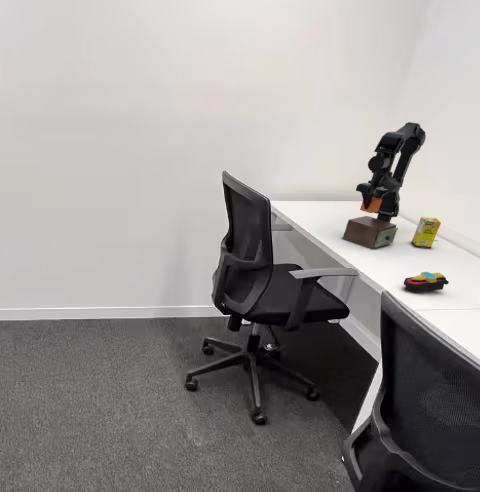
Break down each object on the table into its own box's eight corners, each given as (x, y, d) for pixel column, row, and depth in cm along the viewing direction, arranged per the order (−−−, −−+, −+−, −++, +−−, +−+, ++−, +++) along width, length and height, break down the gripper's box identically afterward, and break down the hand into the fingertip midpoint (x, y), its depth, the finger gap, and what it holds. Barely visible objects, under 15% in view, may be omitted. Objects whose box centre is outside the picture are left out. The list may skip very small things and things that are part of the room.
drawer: (395, 244, 223) (400, 229, 220) (378, 248, 218) (384, 233, 215) (365, 234, 233) (370, 219, 229) (348, 238, 227) (353, 223, 224)
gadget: (397, 289, 189) (400, 274, 186) (434, 283, 189) (438, 268, 186) (408, 296, 184) (411, 281, 181) (446, 291, 184) (451, 276, 181)
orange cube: (367, 208, 226) (371, 196, 223) (378, 211, 222) (382, 199, 219) (359, 209, 223) (363, 197, 221) (370, 213, 220) (374, 200, 217)
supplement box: (430, 248, 223) (441, 222, 217) (415, 247, 224) (425, 220, 218) (426, 244, 228) (436, 218, 222) (410, 242, 229) (421, 216, 223)
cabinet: (389, 244, 226) (396, 224, 221) (371, 248, 220) (378, 229, 215) (360, 234, 235) (366, 215, 231) (342, 238, 229) (348, 219, 225)
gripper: (387, 174, 204) (373, 216, 212) (416, 170, 212) (401, 210, 221) (361, 168, 211) (348, 209, 220) (390, 164, 220) (376, 203, 229)
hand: (369, 208), depth 222 cm, fingers closed on orange cube, 5 cm apart
